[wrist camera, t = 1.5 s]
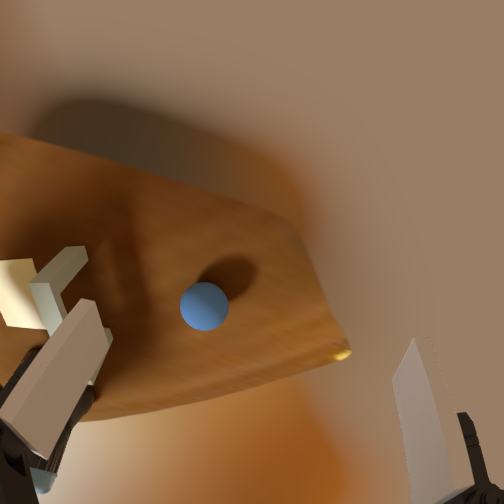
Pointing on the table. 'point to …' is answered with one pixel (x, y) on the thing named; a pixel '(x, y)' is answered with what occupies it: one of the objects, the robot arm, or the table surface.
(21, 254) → the table surface
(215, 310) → the ball
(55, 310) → the bridge
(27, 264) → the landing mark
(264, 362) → the table surface
